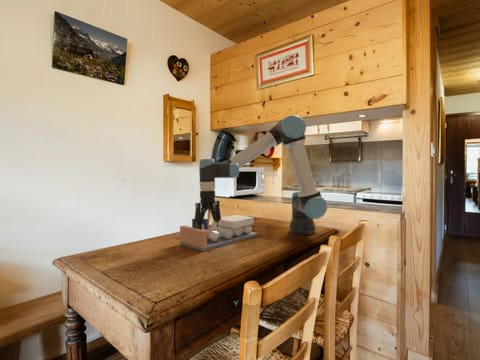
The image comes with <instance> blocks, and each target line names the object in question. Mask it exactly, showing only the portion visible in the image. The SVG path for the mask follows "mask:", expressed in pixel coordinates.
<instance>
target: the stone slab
mask: <svg viewBox="0 0 480 360" xmlns="http://www.w3.org/2000/svg"><path fill="white" fill-rule="evenodd" d="M254 224H255V217H253V216H247V215H241V214H233V215H232V214H231V215H228V216H227V215H226V216H221V220H219V222H218V227H220V226H222V227H227V228H232V229H234V228H239V227H243V226H247V225H251V226H252V225H254Z"/></svg>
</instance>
